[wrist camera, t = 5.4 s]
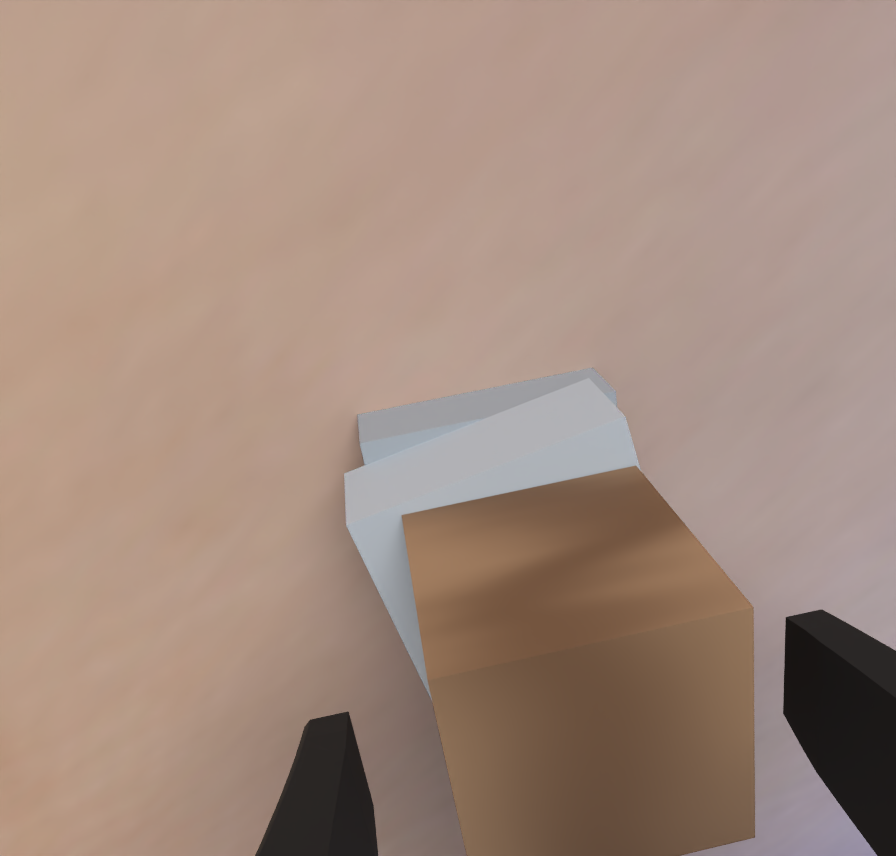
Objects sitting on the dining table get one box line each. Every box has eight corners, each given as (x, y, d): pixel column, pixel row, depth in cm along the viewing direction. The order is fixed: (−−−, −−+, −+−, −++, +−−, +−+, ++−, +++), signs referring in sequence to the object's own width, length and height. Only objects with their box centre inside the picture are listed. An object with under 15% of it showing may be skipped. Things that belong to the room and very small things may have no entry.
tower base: (602, 553, 21) (632, 602, 19) (399, 597, 20) (407, 652, 18) (585, 359, 18) (615, 391, 16) (356, 405, 18) (359, 443, 16)
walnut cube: (636, 465, 15) (753, 607, 11) (650, 653, 16) (755, 837, 12) (401, 515, 14) (427, 680, 10) (441, 700, 16) (477, 904, 12)
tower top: (650, 580, 18) (688, 638, 16) (434, 664, 19) (447, 732, 17) (589, 377, 16) (624, 416, 14) (344, 473, 16) (345, 525, 14)
